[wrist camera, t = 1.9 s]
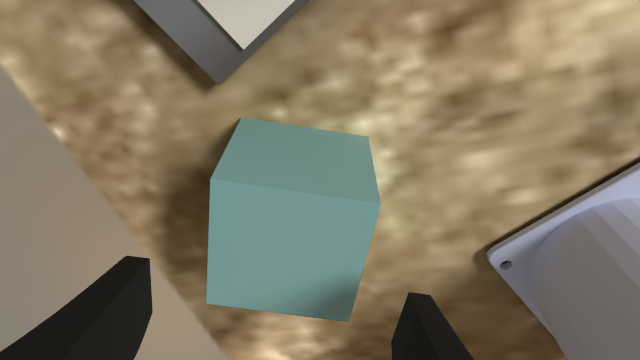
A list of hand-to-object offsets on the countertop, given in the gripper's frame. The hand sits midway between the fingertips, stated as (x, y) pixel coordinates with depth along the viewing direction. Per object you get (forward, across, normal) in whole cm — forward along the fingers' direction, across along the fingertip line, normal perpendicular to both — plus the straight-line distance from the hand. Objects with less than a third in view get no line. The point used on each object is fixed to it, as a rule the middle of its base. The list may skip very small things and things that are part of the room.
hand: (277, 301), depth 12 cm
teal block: (+7, 0, 0) cm, 7 cm away
